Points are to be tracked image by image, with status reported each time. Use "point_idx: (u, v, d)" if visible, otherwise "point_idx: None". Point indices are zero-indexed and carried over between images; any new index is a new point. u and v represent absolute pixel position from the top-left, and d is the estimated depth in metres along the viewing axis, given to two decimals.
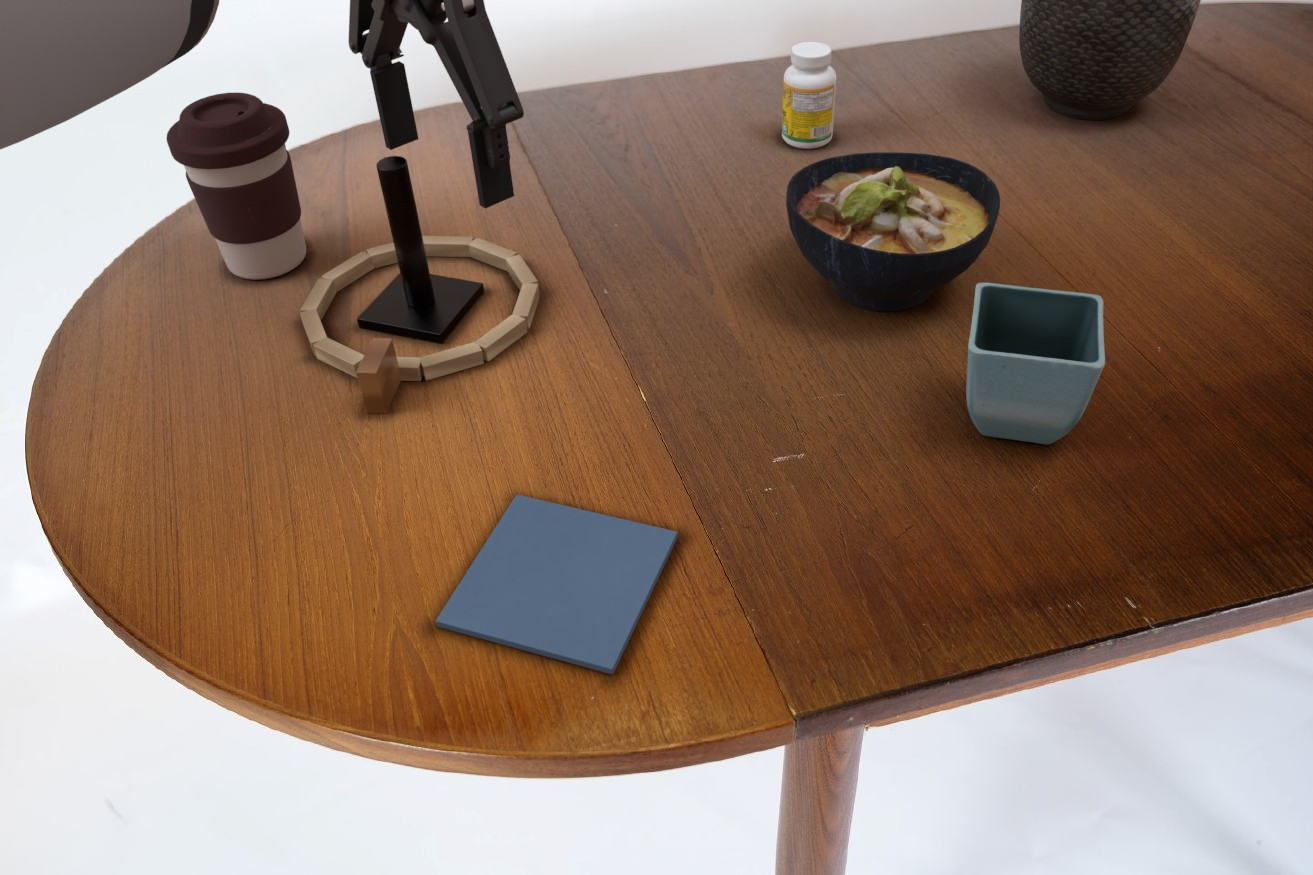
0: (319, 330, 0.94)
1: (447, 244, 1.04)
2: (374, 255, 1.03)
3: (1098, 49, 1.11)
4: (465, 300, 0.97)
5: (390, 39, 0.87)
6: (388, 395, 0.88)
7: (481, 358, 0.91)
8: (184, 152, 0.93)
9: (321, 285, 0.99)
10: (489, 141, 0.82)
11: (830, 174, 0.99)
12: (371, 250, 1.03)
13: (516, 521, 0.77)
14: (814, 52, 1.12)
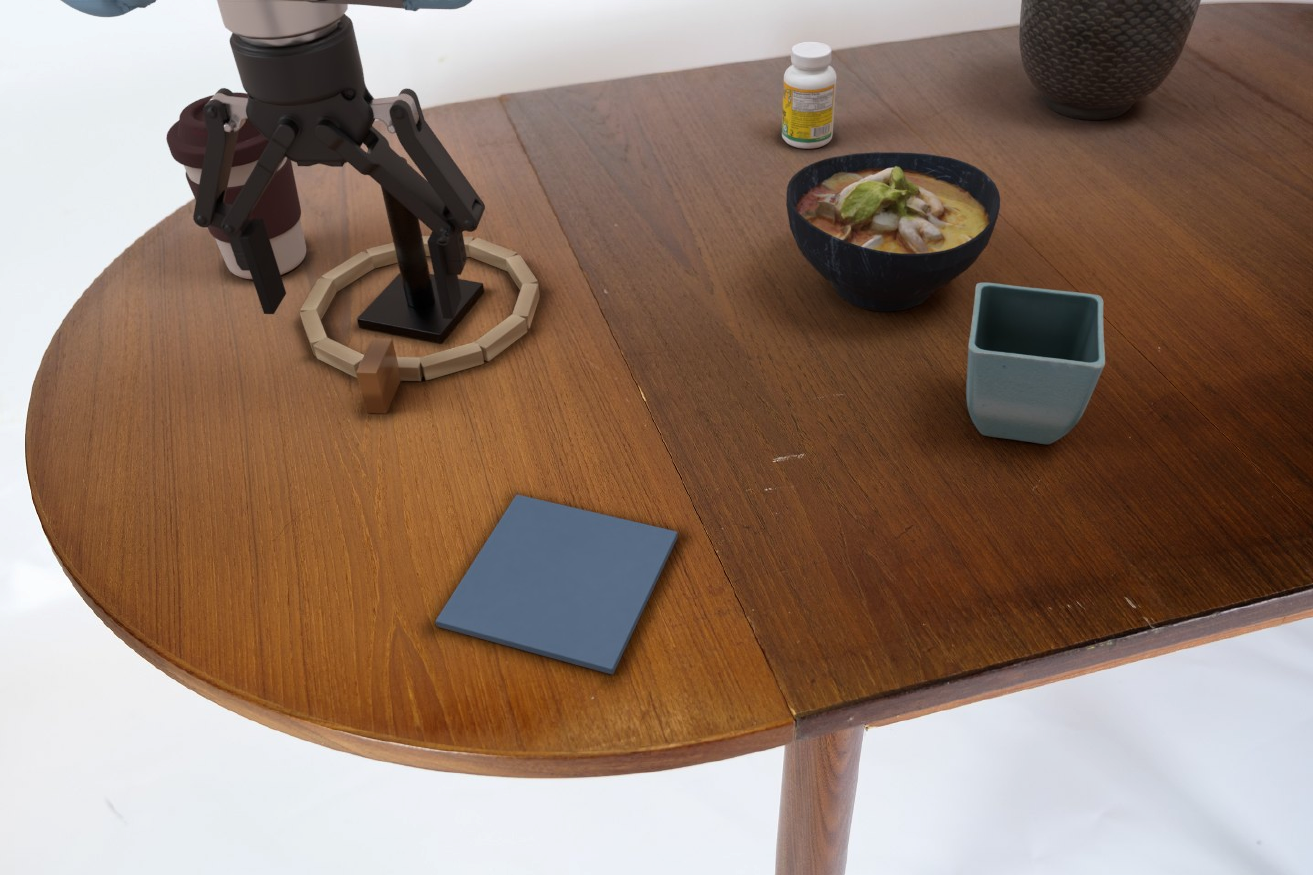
0: (319, 330, 0.94)
1: None
2: (374, 255, 1.03)
3: (1098, 49, 1.11)
4: (465, 300, 0.97)
5: (261, 194, 0.78)
6: (388, 395, 0.88)
7: (481, 358, 0.91)
8: (184, 152, 0.93)
9: (321, 285, 0.99)
10: (454, 248, 0.79)
11: (830, 174, 0.99)
12: (371, 250, 1.03)
13: (516, 521, 0.77)
14: (814, 52, 1.12)
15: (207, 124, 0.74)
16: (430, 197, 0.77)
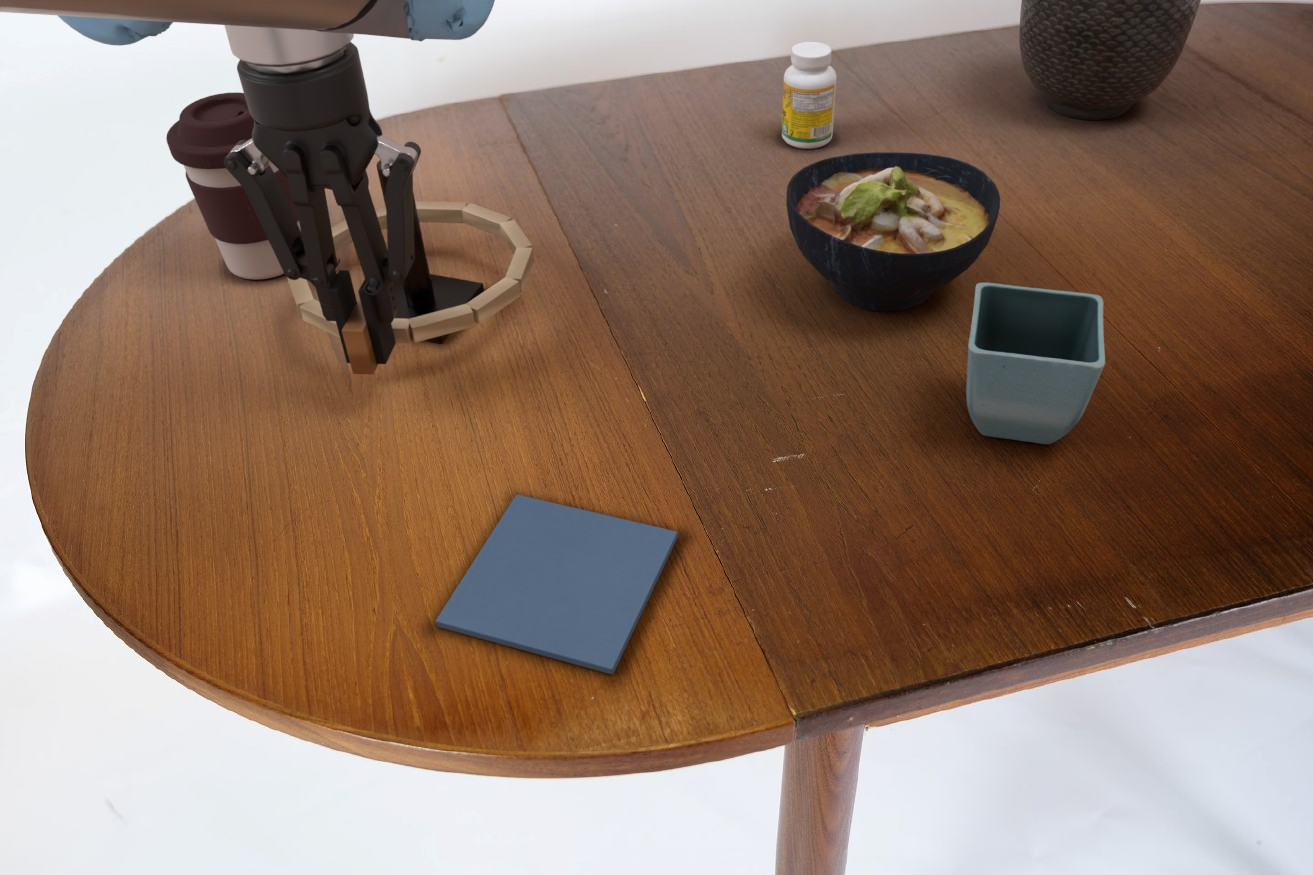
0: (305, 292, 0.91)
1: (440, 209, 1.01)
2: None
3: (1098, 49, 1.11)
4: (465, 300, 0.97)
5: (325, 234, 0.80)
6: None
7: (472, 320, 0.88)
8: (184, 152, 0.93)
9: None
10: (385, 297, 0.82)
11: (830, 174, 0.99)
12: None
13: (516, 521, 0.77)
14: (814, 52, 1.12)
15: (236, 178, 0.76)
16: (379, 247, 0.80)
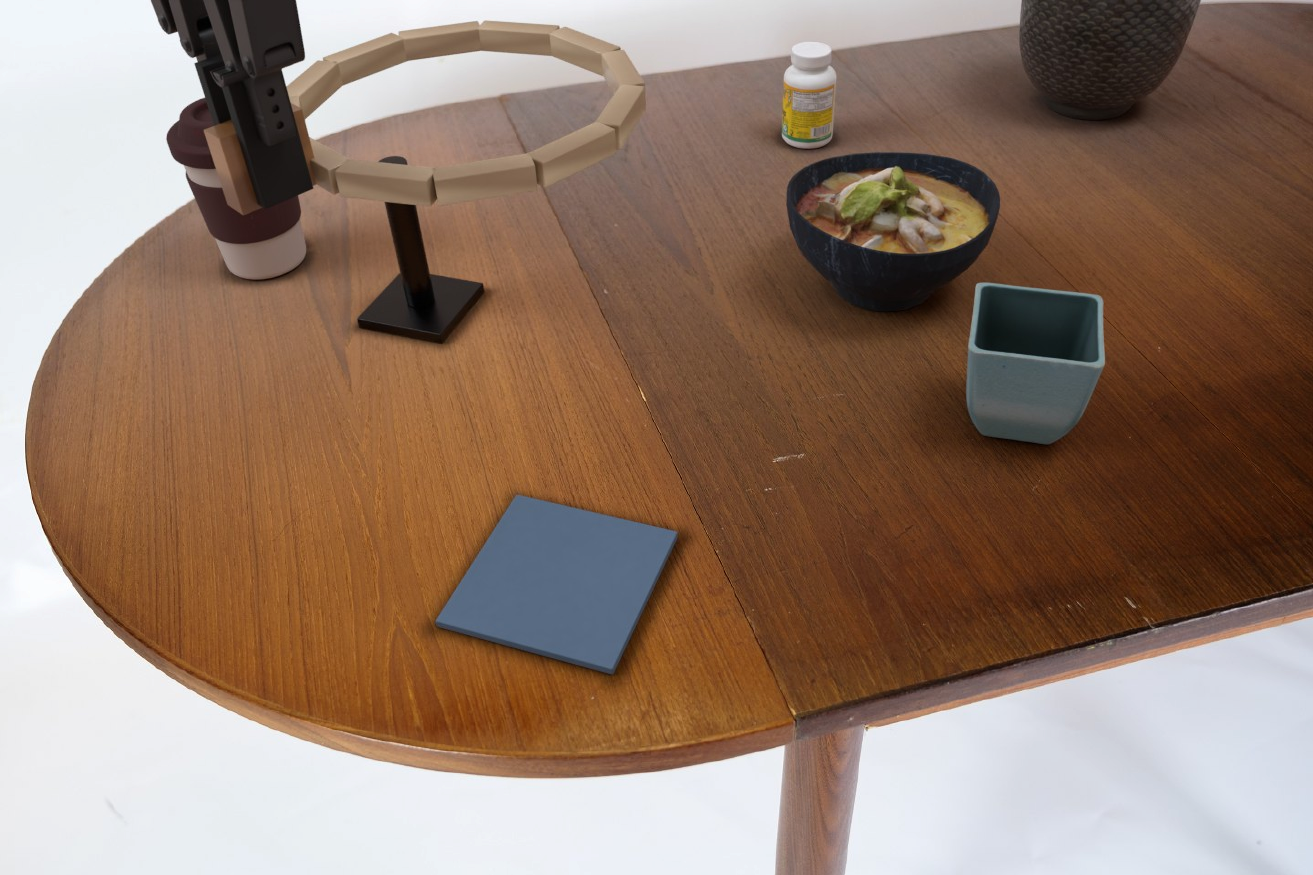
0: (304, 85, 0.63)
1: (578, 45, 0.66)
2: (483, 29, 0.68)
3: (1098, 49, 1.11)
4: (465, 300, 0.97)
5: None
6: None
7: (426, 195, 0.55)
8: (184, 152, 0.93)
9: (382, 40, 0.68)
10: (256, 101, 0.51)
11: (830, 174, 0.99)
12: (488, 23, 0.69)
13: (516, 521, 0.77)
14: (814, 52, 1.12)
15: None
16: None
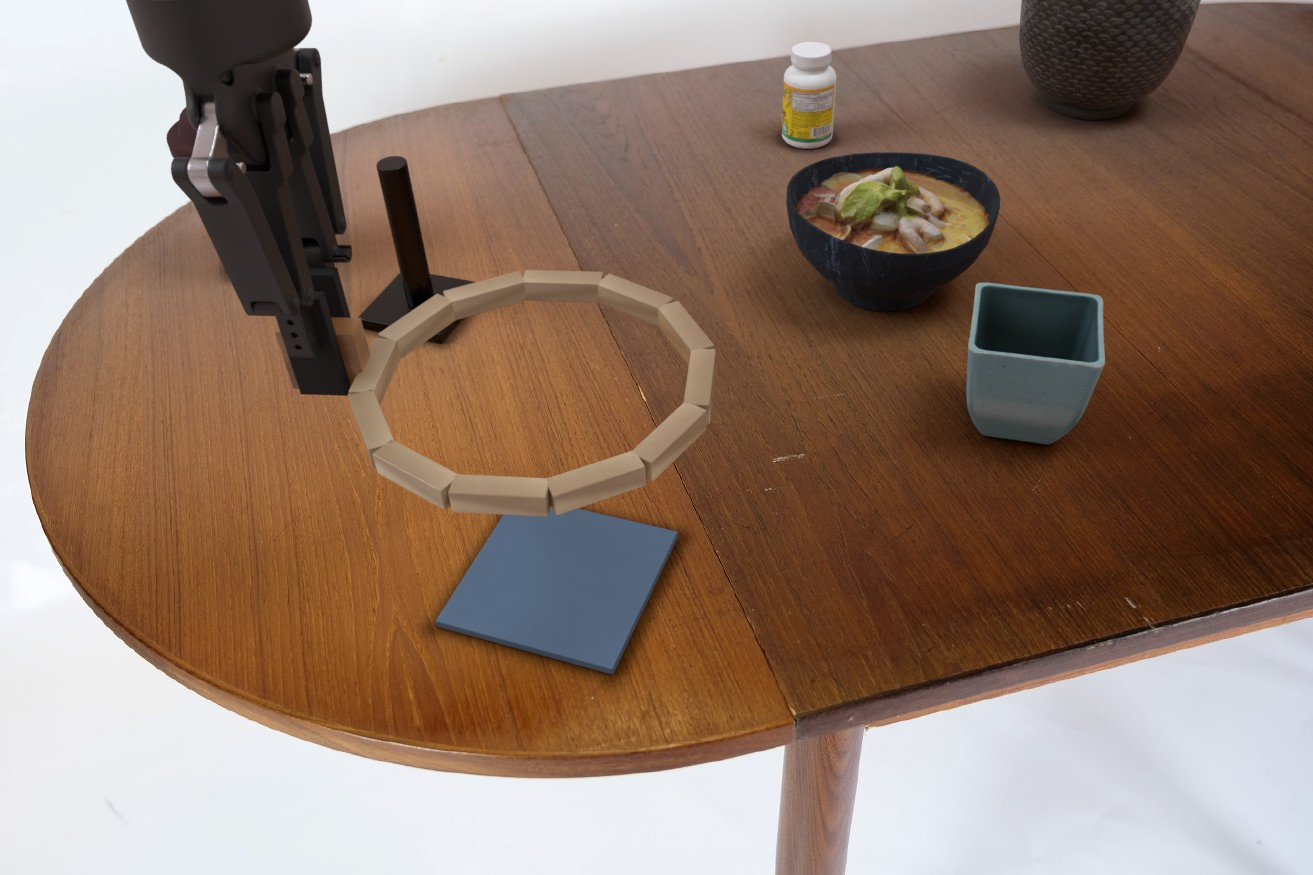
0: (470, 292, 0.68)
1: (687, 379, 0.61)
2: (660, 310, 0.66)
3: (1098, 49, 1.11)
4: None
5: (293, 208, 0.59)
6: None
7: (370, 459, 0.59)
8: (184, 152, 0.93)
9: (584, 276, 0.69)
10: None
11: (830, 174, 0.99)
12: (673, 306, 0.67)
13: (516, 521, 0.77)
14: (814, 52, 1.12)
15: None
16: None
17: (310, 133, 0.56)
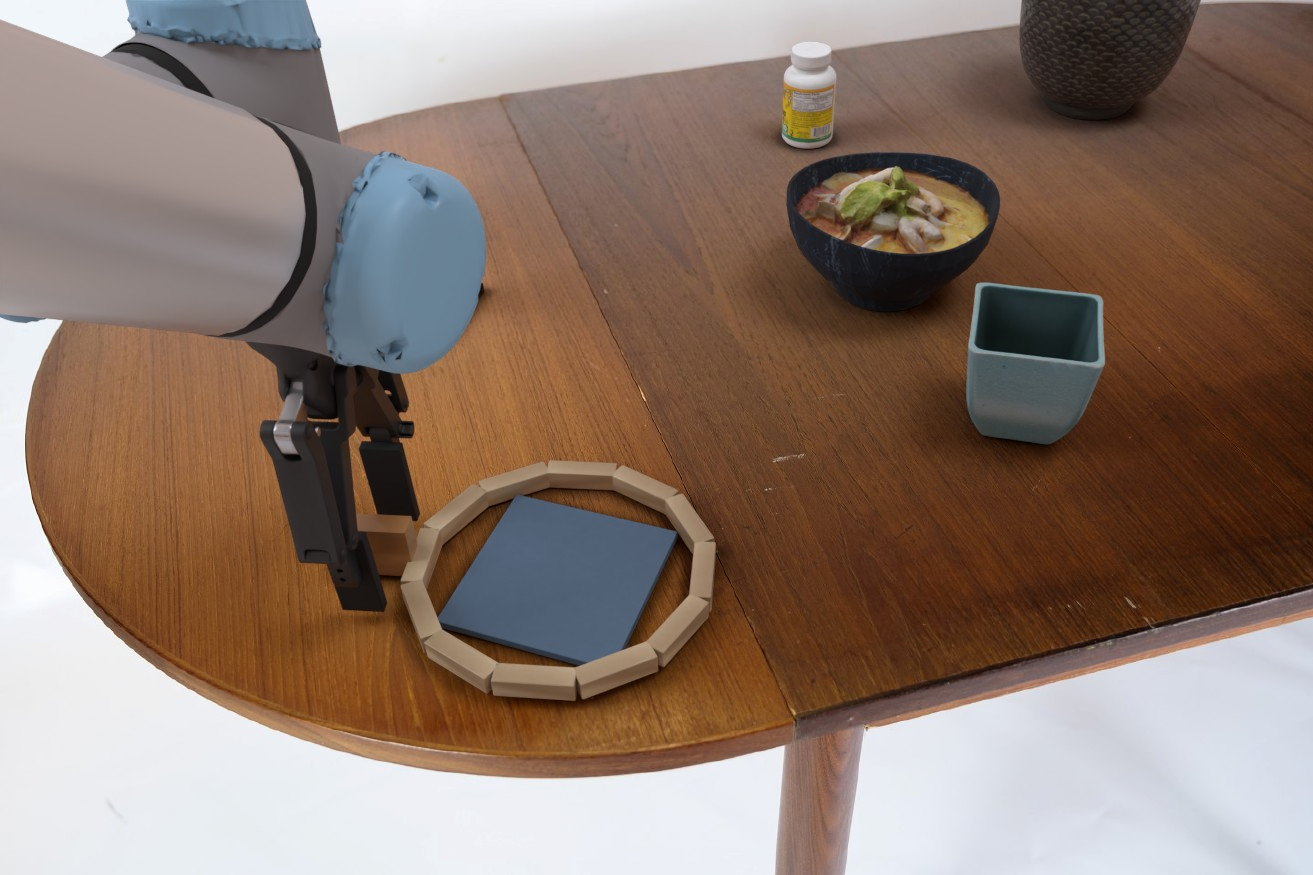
0: (502, 482, 0.79)
1: (692, 571, 0.72)
2: (667, 503, 0.77)
3: (1098, 49, 1.11)
4: None
5: (365, 412, 0.70)
6: None
7: (421, 645, 0.69)
8: None
9: (600, 468, 0.80)
10: None
11: (830, 174, 0.99)
12: (678, 498, 0.77)
13: (516, 521, 0.77)
14: (814, 52, 1.12)
15: None
16: None
17: (376, 369, 0.67)
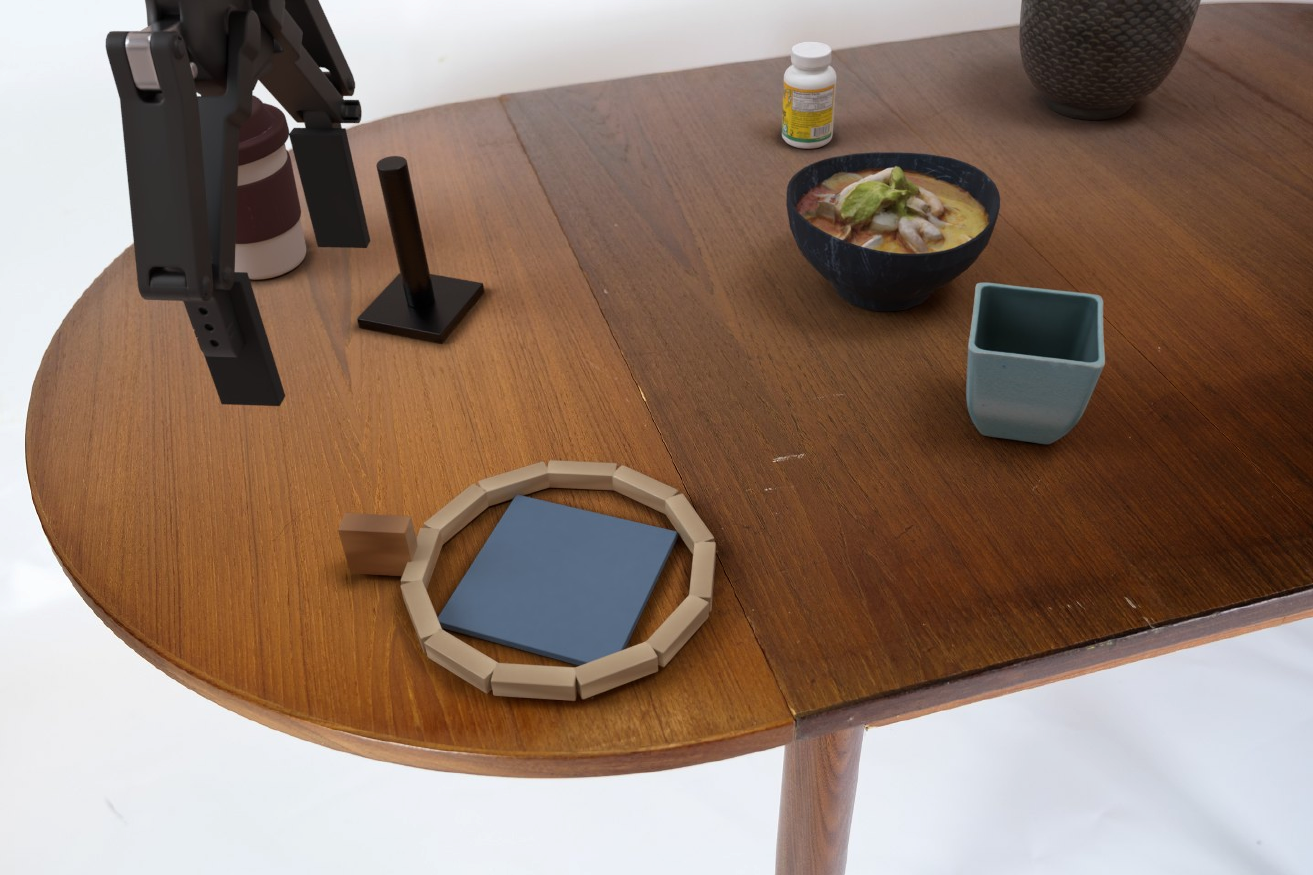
0: (502, 482, 0.79)
1: (692, 571, 0.72)
2: (667, 503, 0.77)
3: (1098, 49, 1.11)
4: (465, 300, 0.97)
5: (293, 92, 0.54)
6: (364, 564, 0.74)
7: (421, 645, 0.69)
8: None
9: (600, 468, 0.80)
10: None
11: (830, 174, 0.99)
12: (678, 498, 0.77)
13: (516, 521, 0.77)
14: (814, 52, 1.12)
15: None
16: None
17: (298, 33, 0.50)
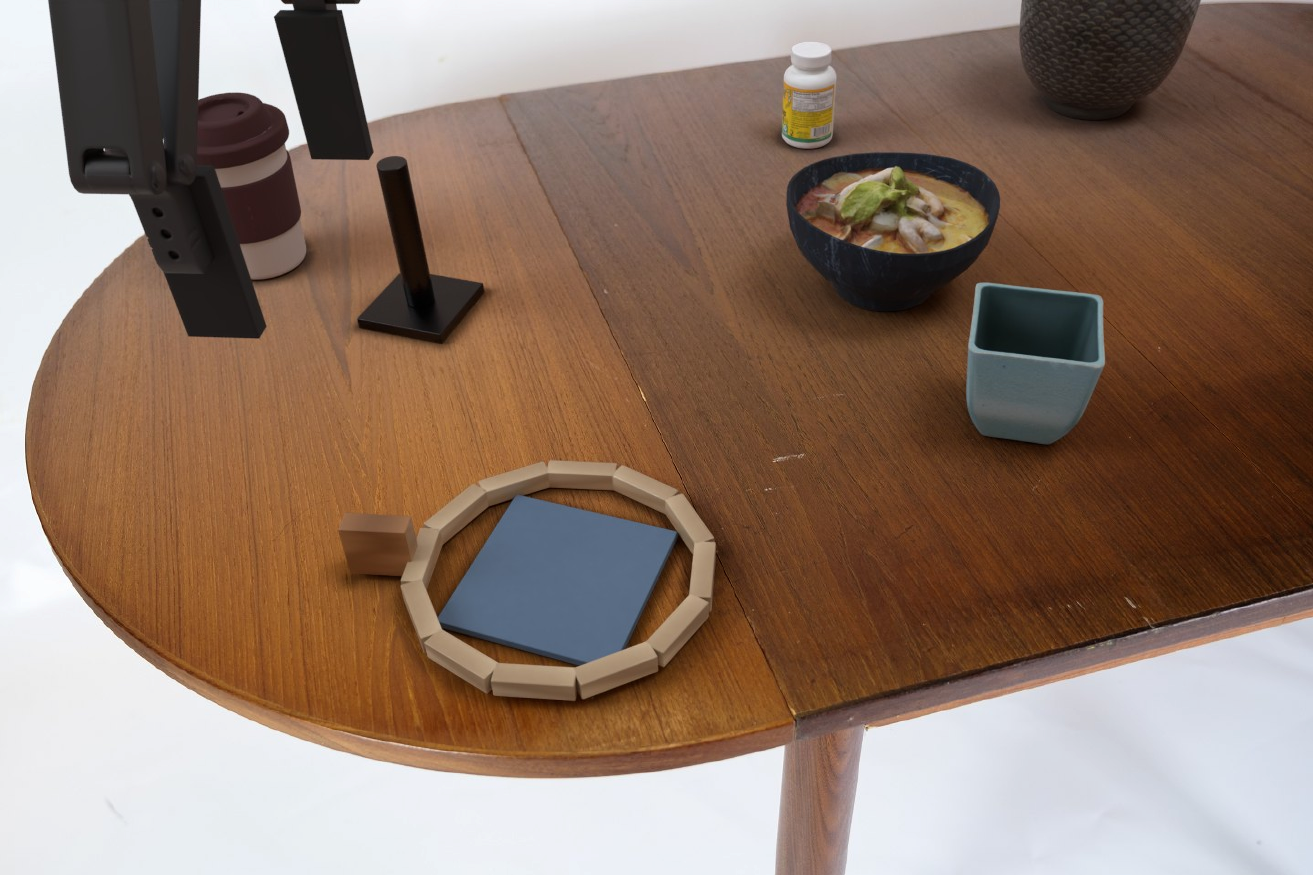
0: (502, 482, 0.79)
1: (692, 571, 0.72)
2: (667, 503, 0.77)
3: (1098, 49, 1.11)
4: (465, 300, 0.97)
5: None
6: (364, 564, 0.74)
7: (421, 645, 0.69)
8: None
9: (600, 468, 0.80)
10: None
11: (830, 174, 0.99)
12: (678, 498, 0.77)
13: (516, 521, 0.77)
14: (814, 52, 1.12)
15: None
16: None
17: None
